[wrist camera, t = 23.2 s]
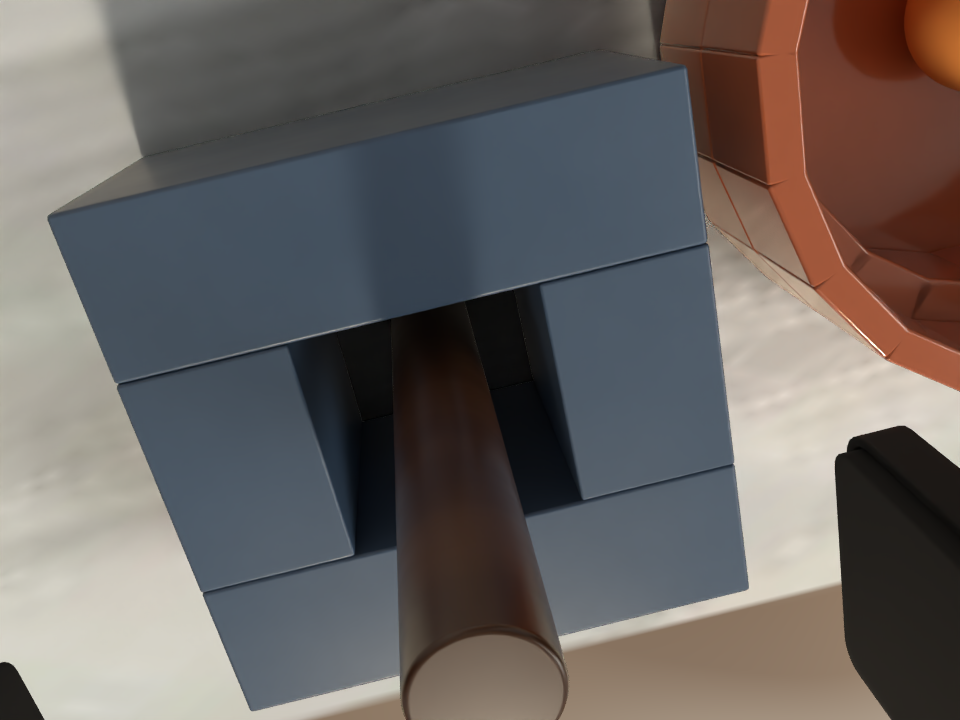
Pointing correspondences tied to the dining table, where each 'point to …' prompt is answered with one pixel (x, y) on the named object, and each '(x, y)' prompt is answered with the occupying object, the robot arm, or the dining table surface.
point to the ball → (935, 39)
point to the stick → (463, 541)
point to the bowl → (831, 164)
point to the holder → (406, 290)
